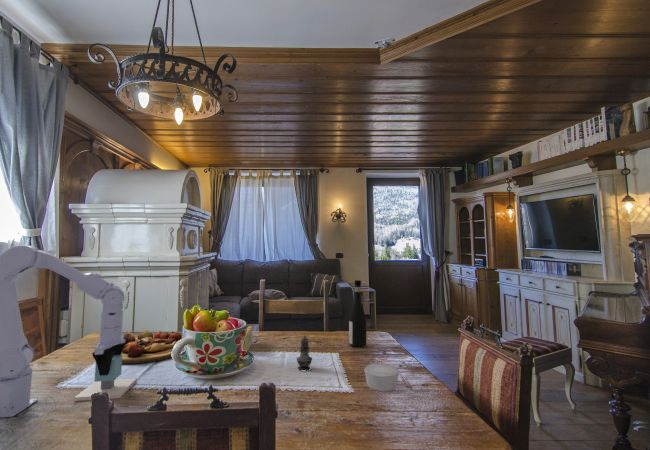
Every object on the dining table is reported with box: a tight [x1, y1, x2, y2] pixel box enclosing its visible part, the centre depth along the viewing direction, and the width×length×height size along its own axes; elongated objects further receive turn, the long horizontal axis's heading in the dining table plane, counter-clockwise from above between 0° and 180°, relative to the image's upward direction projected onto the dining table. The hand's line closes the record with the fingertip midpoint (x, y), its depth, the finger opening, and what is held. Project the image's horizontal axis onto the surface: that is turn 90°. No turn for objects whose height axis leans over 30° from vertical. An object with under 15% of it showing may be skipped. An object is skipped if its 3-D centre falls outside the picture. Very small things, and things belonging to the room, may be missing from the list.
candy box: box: [243, 325, 253, 352], centre depth 143 cm, size 16×2×8 cm, turn 4°
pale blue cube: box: [94, 355, 123, 382], centre depth 99 cm, size 5×5×6 cm
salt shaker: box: [296, 335, 313, 372], centre depth 119 cm, size 6×6×12 cm
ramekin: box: [363, 363, 400, 392], centre depth 105 cm, size 11×11×5 cm
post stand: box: [73, 378, 137, 402], centre depth 99 cm, size 12×12×5 cm
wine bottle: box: [348, 279, 367, 348], centre depth 150 cm, size 8×8×30 cm
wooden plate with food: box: [121, 329, 183, 364], centre depth 137 cm, size 32×32×8 cm
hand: (108, 371), depth 99 cm, fingers closed on pale blue cube, 5 cm apart
